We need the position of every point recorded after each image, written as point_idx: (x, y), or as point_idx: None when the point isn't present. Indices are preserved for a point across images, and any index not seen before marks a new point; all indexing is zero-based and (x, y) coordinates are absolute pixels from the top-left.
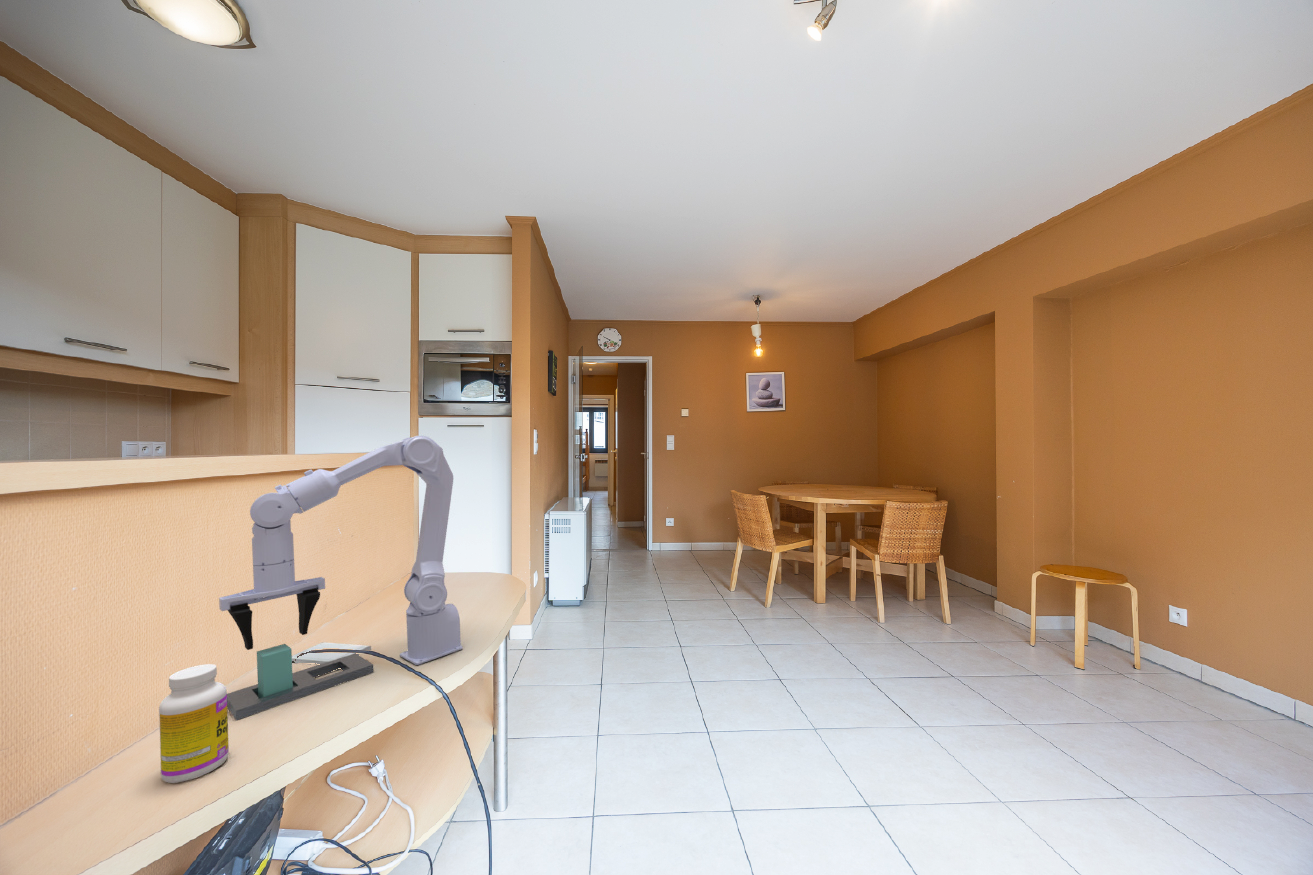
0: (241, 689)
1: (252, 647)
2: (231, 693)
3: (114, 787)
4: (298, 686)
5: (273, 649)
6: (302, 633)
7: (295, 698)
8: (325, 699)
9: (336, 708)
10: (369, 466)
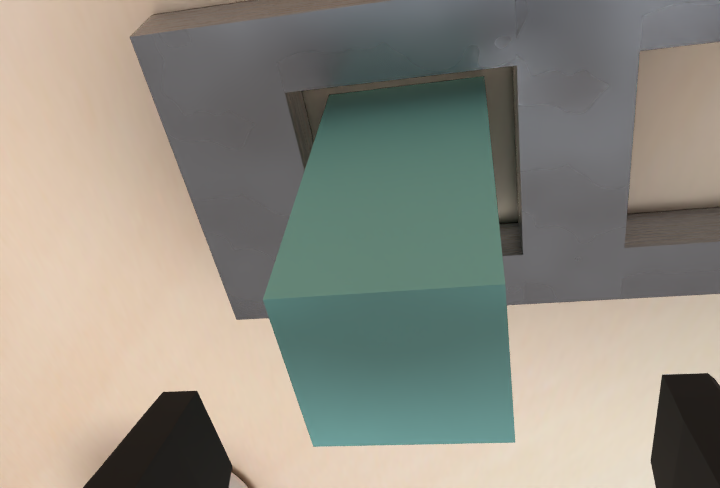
0: (222, 34)
1: (226, 478)
2: (171, 57)
3: (4, 442)
4: (519, 265)
5: (394, 359)
6: (654, 470)
7: None
8: (592, 364)
9: (590, 456)
10: None
